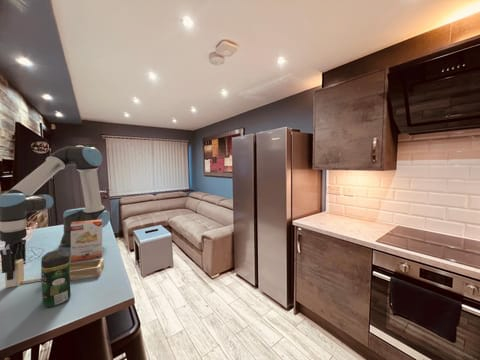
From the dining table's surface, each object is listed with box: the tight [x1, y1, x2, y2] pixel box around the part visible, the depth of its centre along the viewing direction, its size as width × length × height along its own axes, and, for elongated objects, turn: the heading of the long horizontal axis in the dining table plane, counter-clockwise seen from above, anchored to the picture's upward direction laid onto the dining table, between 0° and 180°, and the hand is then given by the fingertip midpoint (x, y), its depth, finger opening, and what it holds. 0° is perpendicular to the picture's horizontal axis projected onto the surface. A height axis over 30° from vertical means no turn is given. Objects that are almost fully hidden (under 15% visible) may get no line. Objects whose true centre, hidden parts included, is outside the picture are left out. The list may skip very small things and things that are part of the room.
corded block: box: [4, 259, 42, 289], centre depth 88 cm, size 6×18×10 cm, turn 116°
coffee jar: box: [40, 249, 72, 308], centre depth 75 cm, size 10×8×19 cm
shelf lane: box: [70, 258, 105, 281], centre depth 95 cm, size 10×15×4 cm
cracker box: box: [70, 219, 103, 263], centre depth 112 cm, size 14×6×21 cm, turn 124°
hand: (15, 283), depth 85 cm, fingers closed on corded block, 4 cm apart
